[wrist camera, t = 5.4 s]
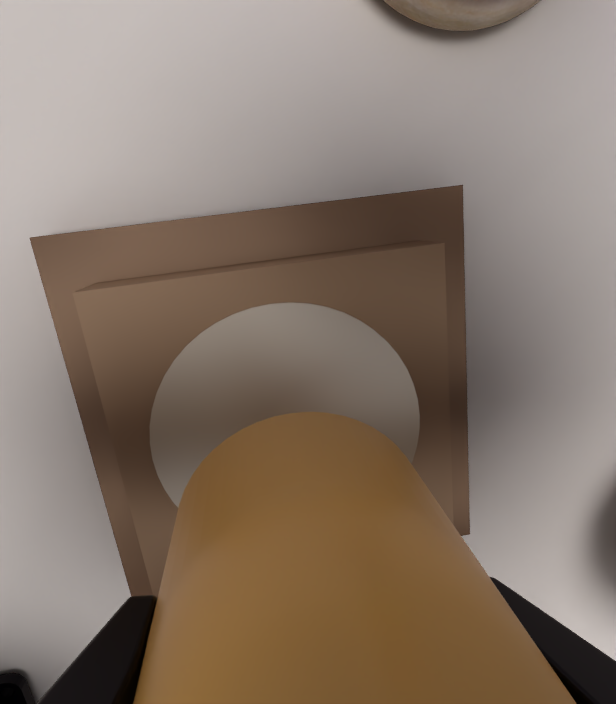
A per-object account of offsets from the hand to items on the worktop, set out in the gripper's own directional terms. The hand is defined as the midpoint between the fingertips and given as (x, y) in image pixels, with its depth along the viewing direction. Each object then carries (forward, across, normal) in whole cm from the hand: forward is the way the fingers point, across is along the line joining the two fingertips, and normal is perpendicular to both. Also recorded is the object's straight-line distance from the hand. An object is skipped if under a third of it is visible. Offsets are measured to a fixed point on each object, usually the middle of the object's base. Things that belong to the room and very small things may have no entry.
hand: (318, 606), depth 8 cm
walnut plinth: (+10, 0, 0) cm, 10 cm away
